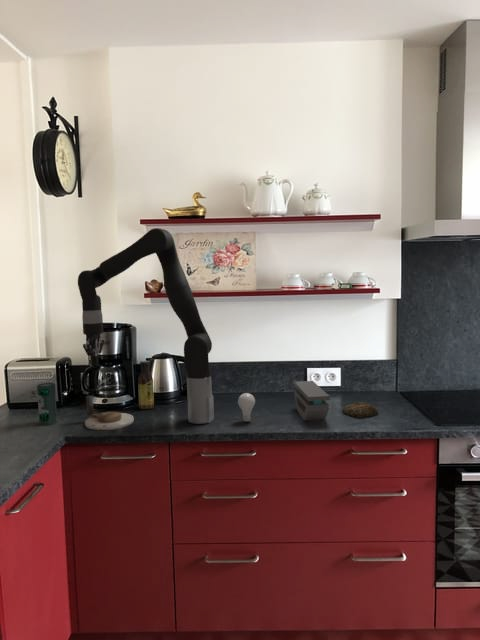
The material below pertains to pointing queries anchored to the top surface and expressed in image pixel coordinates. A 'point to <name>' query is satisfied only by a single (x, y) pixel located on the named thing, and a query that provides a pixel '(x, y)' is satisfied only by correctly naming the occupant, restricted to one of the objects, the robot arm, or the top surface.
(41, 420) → the green patterned block
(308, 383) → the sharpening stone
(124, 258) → the robot arm
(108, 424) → the dial base
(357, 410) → the bread roll
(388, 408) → the top surface
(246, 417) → the lightbulb
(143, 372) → the sauce bottle
